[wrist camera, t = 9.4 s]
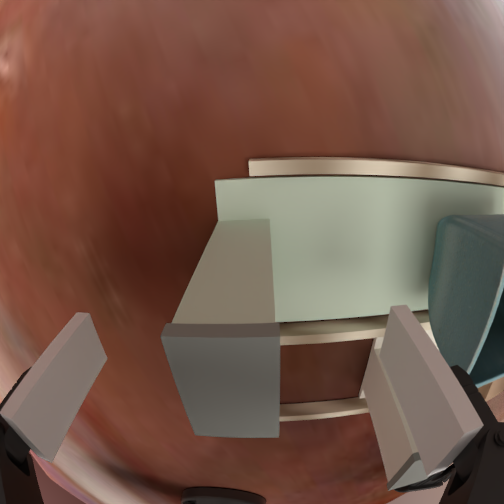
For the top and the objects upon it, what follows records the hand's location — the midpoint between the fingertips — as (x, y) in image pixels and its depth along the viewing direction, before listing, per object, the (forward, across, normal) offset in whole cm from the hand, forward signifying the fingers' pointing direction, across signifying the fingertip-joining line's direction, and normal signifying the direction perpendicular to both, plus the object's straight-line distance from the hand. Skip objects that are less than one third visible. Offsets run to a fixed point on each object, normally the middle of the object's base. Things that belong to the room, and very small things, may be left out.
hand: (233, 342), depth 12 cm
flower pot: (+7, +16, +1) cm, 17 cm away
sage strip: (+8, +10, +1) cm, 12 cm away
